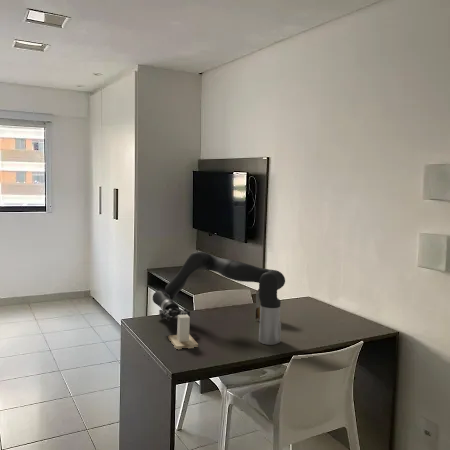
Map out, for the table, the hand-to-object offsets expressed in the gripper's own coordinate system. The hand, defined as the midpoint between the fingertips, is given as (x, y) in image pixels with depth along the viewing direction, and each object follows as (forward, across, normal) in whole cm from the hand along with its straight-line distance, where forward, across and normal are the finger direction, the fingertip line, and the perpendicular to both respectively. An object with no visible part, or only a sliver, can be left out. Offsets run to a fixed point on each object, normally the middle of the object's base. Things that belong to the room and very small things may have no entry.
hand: (178, 318), depth 221 cm
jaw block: (+9, 0, +7) cm, 11 cm away
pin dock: (+9, 0, +9) cm, 12 cm away
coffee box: (-13, +51, +9) cm, 54 cm away
